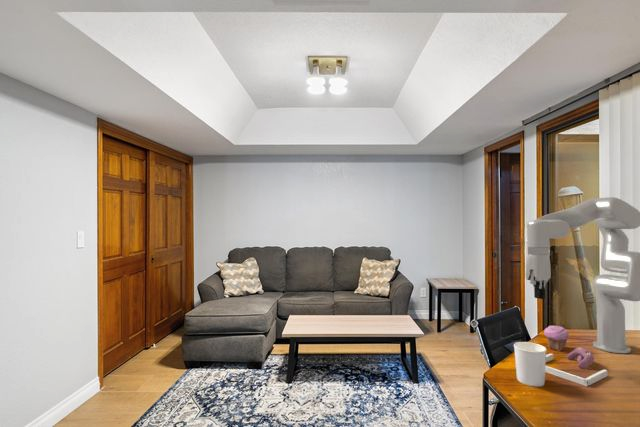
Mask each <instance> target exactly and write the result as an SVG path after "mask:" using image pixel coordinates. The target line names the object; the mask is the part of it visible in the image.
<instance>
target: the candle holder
mask: <svg viewBox="0 0 640 427" xmlns="http://www.w3.org/2000/svg"><path fill="white" fill-rule="evenodd" d="M513 349H514V359H515V360H514V361H515V370H516V371H515V372H516V380H517V381H518V382H519V383H521V384H523V385H526V386H529V387H536V388H539V387H544V386H545V383H546V372H545V368H546V366H547V364H546V363H547V362H546V355H547V348H546V347H545V346H543V345H541V344H538V343H535V342H529V341H518V342H517V341H516V342H514V344H513Z"/></svg>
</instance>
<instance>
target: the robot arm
mask: <svg viewBox="0 0 640 427" xmlns="http://www.w3.org/2000/svg"><path fill="white" fill-rule="evenodd" d="M591 222H593V223H594V224H595V226H596V227H597V228H598V230H599V231H600V233H601V236H602V238H603V239H602V240H603V242H602V243H603V244H602V249H601V256H600V266H601V268H602V270H604V271H607V272H611V273H619V274H627V276H620V275H616V274H608V273H607V274H597V275H596V276H595V277H594V278H593V281H592V289H593V291H594V295H595V301H596V303H595V304H596V306H595V307H596V335H597V336H596V339H597V340H595V341H593V342H592V344H593V345H592V346H593V347H594V348H596V349H598V350H601V351H604V352H608V353H615V354H630V353H631V352H632V351H631V350H632V349H631V347H629V346H628V345H627V344H626V343H627V339H628V338H627V337H626V311H625V310H626V309H625V305H624V304H623V302H622V301H621V300H624V301H629V302H640V252H638V251H630V250H629V238H628V236H627V235H626V233H625V232H624V231H623V230H634V229H635V230H636V229H637V228H639V227H640V211H639V209H637V208H636V207H634V206H632V205H631V204H630V203H628V202H626V201H625V200H623V199H620V198H618V197H612V196H611V197H595V198H588V199H586V200H585V201H582V202H580V203H578V204H576V205H574V206H572V207H570V208H567V209H563V210H559V211H558V210H557V211H556V212H552V213H548V214H545V215H542V216H540V217H538V218H536V219H534V220H529V221H528V222H527V223H526V233H527V234H526V239H527V256H526V263H525V280H527V281H529V283H530V285H533V289H534V290H533V293H534V295H533V296H534V298H535V299H539V300H544V299H546V284H547V283H548V282H549V280H550V279H551V278H552V276H551V275H552V274H551V273H552V270H551V268H552V267H551V261H550V259H551V258H550V256H551V249H550V248H551V244H550V239H555V240H557V239H563V238H566V237H568V236H569V234H570V232H571V229H575V228H581V227H583V226H585V225H588V224H589V223H591Z"/></svg>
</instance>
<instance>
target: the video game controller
mask: <svg viewBox="0 0 640 427" xmlns="http://www.w3.org/2000/svg"><path fill="white" fill-rule="evenodd" d="M566 359H568V360H570V361H571V360H572V361H573V360H575V359H576V361H577V362H578V363H577V367H578V368H580V369H585V368H587V367H589V366H591V365H592V364H593V363H594V361H595V356H594V355H593V354H592V352H591V351H589V350H588V349H586V348H583V347H578V346H577V347H576V348H575V349H573V350H572V351H571V352H569V353H568V354H567V355H566Z"/></svg>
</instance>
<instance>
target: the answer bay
mask: <svg viewBox="0 0 640 427" xmlns="http://www.w3.org/2000/svg"><path fill="white" fill-rule="evenodd" d="M552 360H554V354H553V353H548V354H546V363H547V362H550V361H552ZM545 373H547V374H550V375H553V376H557V377H559V378H562V379H565V380H568V381H570V382H573V383H576V384H580V385H582V386H584V387H588V386H591V385H593V384H594V383H596V382H598V381H600V380H602V379H604V378H607V377H608V370H607V369H602V370H599V371H598V372H596V373H595V372H594V373H593V374H591V375H590V376H587V377H586V378H584V377H581V376H578V375H575V374H572V373H569V372H566V371H563V370H561V369H557V368H554V367H550V366H548V365H546V368H545Z"/></svg>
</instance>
